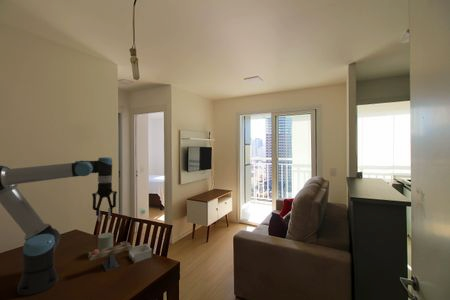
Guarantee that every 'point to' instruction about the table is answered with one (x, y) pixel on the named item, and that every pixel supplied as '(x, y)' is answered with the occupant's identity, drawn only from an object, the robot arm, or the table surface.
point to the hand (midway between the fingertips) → (104, 219)
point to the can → (105, 241)
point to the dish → (140, 253)
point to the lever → (111, 250)
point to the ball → (95, 252)
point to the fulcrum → (110, 263)
